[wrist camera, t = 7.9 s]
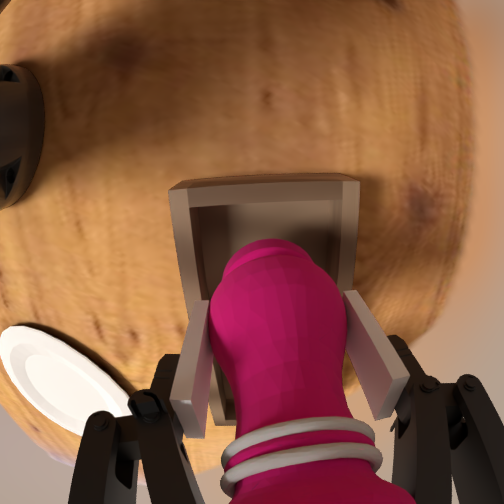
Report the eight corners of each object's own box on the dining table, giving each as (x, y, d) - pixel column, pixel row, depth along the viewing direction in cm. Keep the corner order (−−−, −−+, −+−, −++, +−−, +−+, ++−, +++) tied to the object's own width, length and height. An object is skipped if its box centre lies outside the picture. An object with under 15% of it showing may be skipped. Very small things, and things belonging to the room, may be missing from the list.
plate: (-18, 312, 26) (-24, 318, 24) (107, 325, 26) (101, 335, 24) (48, 420, 35) (45, 426, 34) (164, 445, 35) (163, 453, 34)
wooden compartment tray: (320, 389, 30) (327, 417, 26) (217, 397, 30) (215, 425, 26) (339, 173, 21) (360, 181, 17) (182, 180, 20) (168, 190, 17)
